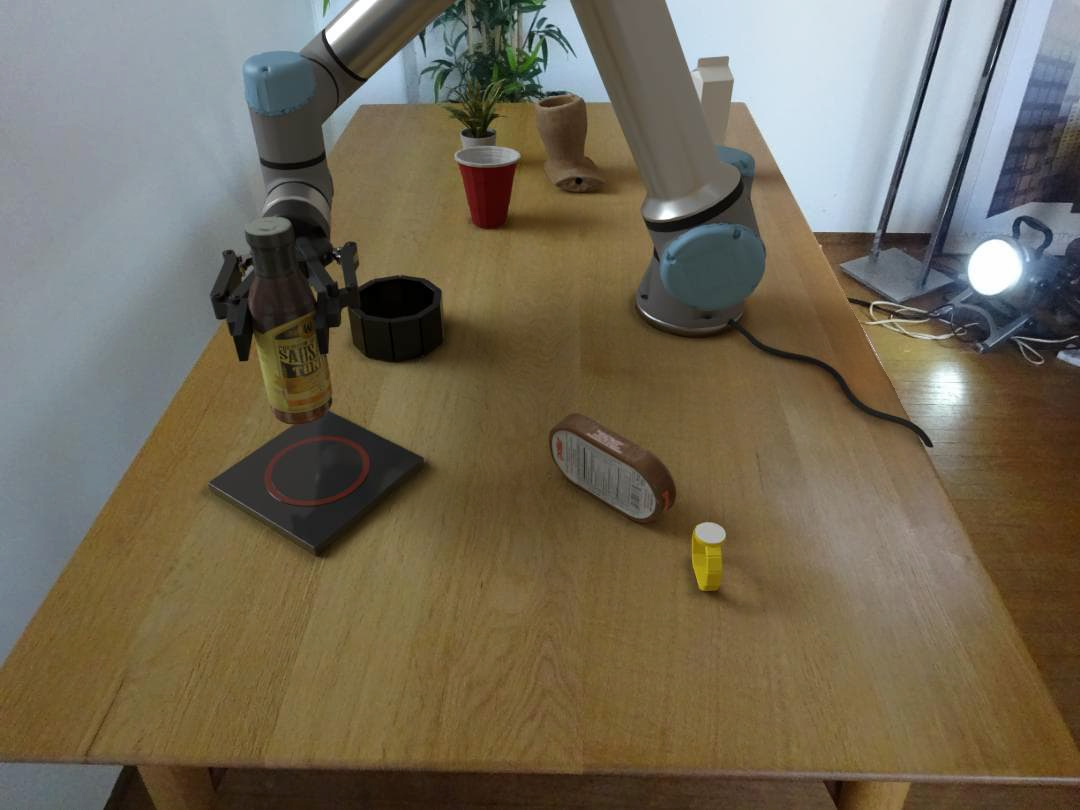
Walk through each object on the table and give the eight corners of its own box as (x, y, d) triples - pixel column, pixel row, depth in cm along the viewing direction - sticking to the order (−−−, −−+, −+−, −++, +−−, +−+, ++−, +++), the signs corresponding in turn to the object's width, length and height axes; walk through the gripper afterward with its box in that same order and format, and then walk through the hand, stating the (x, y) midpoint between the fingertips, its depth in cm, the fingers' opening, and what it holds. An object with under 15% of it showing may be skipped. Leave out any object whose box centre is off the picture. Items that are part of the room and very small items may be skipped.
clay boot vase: (530, 166, 158) (530, 87, 149) (590, 163, 160) (593, 85, 150) (542, 197, 146) (543, 114, 137) (606, 194, 148) (611, 111, 139)
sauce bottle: (299, 436, 78) (254, 251, 66) (259, 412, 81) (209, 230, 69) (350, 403, 82) (317, 223, 70) (310, 381, 85) (271, 204, 73)
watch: (724, 602, 74) (734, 558, 70) (694, 603, 74) (703, 559, 70) (710, 552, 79) (718, 509, 75) (682, 553, 79) (689, 510, 75)
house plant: (477, 144, 168) (473, 61, 158) (530, 158, 161) (530, 73, 152) (431, 164, 159) (424, 78, 149) (486, 180, 152) (482, 91, 142)
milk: (718, 183, 152) (738, 60, 139) (689, 186, 151) (706, 63, 137) (705, 171, 157) (722, 51, 143) (676, 174, 156) (691, 53, 142)
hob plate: (424, 465, 89) (423, 456, 88) (316, 556, 78) (313, 547, 77) (322, 414, 96) (320, 405, 95) (209, 491, 85) (206, 481, 84)
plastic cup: (524, 209, 142) (524, 142, 135) (517, 236, 134) (516, 166, 126) (463, 206, 143) (460, 139, 136) (452, 233, 134) (448, 163, 127)
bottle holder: (463, 329, 111) (460, 291, 107) (401, 372, 103) (396, 332, 99) (397, 304, 116) (393, 266, 112) (334, 343, 108) (327, 304, 104)
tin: (673, 524, 82) (683, 462, 77) (655, 541, 80) (663, 479, 75) (562, 457, 90) (564, 397, 85) (543, 471, 88) (544, 410, 83)
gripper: (387, 255, 93) (395, 369, 75) (212, 268, 90) (178, 390, 72) (380, 193, 88) (387, 298, 70) (195, 204, 85) (154, 317, 67)
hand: (281, 344), depth 71 cm, fingers closed on sauce bottle, 6 cm apart
